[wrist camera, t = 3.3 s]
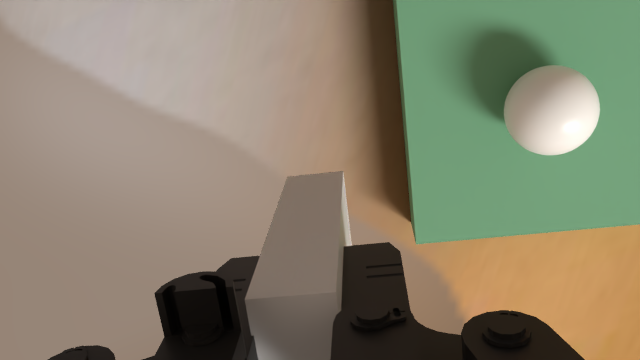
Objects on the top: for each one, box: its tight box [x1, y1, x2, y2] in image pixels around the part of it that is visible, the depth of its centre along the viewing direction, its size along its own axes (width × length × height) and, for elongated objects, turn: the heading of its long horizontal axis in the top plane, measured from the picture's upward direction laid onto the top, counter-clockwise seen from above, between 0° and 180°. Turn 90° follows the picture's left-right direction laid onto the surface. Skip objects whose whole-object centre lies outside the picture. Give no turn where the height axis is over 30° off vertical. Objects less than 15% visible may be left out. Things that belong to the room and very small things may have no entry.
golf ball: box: [504, 65, 600, 155], centre depth 23 cm, size 4×4×4 cm
